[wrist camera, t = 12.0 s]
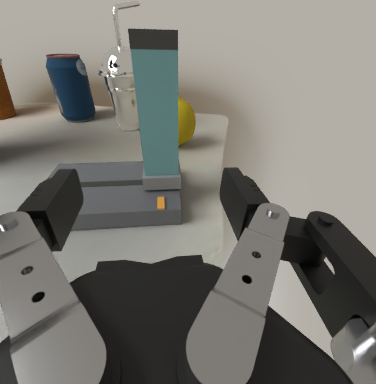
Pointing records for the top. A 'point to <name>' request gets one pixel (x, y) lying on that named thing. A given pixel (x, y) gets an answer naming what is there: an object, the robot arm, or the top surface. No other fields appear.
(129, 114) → the cup with straw
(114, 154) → the top surface
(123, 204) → the slider track
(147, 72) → the slider tab
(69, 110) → the soda can
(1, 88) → the disposable coffee cup
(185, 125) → the lemon
